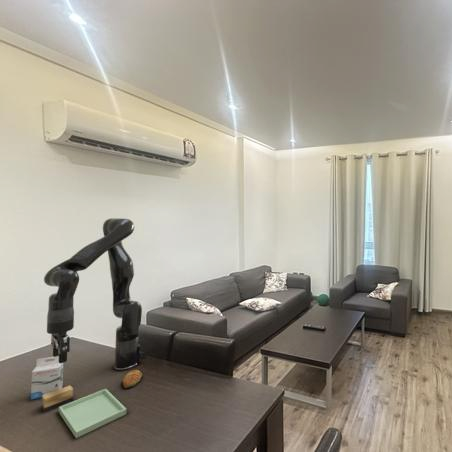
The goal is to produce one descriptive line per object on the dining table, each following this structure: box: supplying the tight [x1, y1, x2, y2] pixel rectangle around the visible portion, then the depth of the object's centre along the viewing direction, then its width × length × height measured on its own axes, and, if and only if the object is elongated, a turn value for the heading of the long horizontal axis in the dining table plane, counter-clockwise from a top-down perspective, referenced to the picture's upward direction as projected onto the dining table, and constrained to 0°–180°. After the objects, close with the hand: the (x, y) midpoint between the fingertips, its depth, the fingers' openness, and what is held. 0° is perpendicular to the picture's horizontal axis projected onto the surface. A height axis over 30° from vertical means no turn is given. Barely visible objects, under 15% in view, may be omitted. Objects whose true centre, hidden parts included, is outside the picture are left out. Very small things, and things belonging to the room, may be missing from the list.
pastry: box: [122, 369, 143, 389], centre depth 122 cm, size 9×7×4 cm
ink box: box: [30, 356, 64, 401], centre depth 113 cm, size 8×5×15 cm, turn 123°
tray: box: [58, 388, 127, 439], centre depth 103 cm, size 14×21×2 cm
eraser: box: [41, 385, 74, 413], centre depth 107 cm, size 8×4×5 cm, turn 147°
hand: (59, 359), depth 107 cm, fingers open, 8 cm apart
